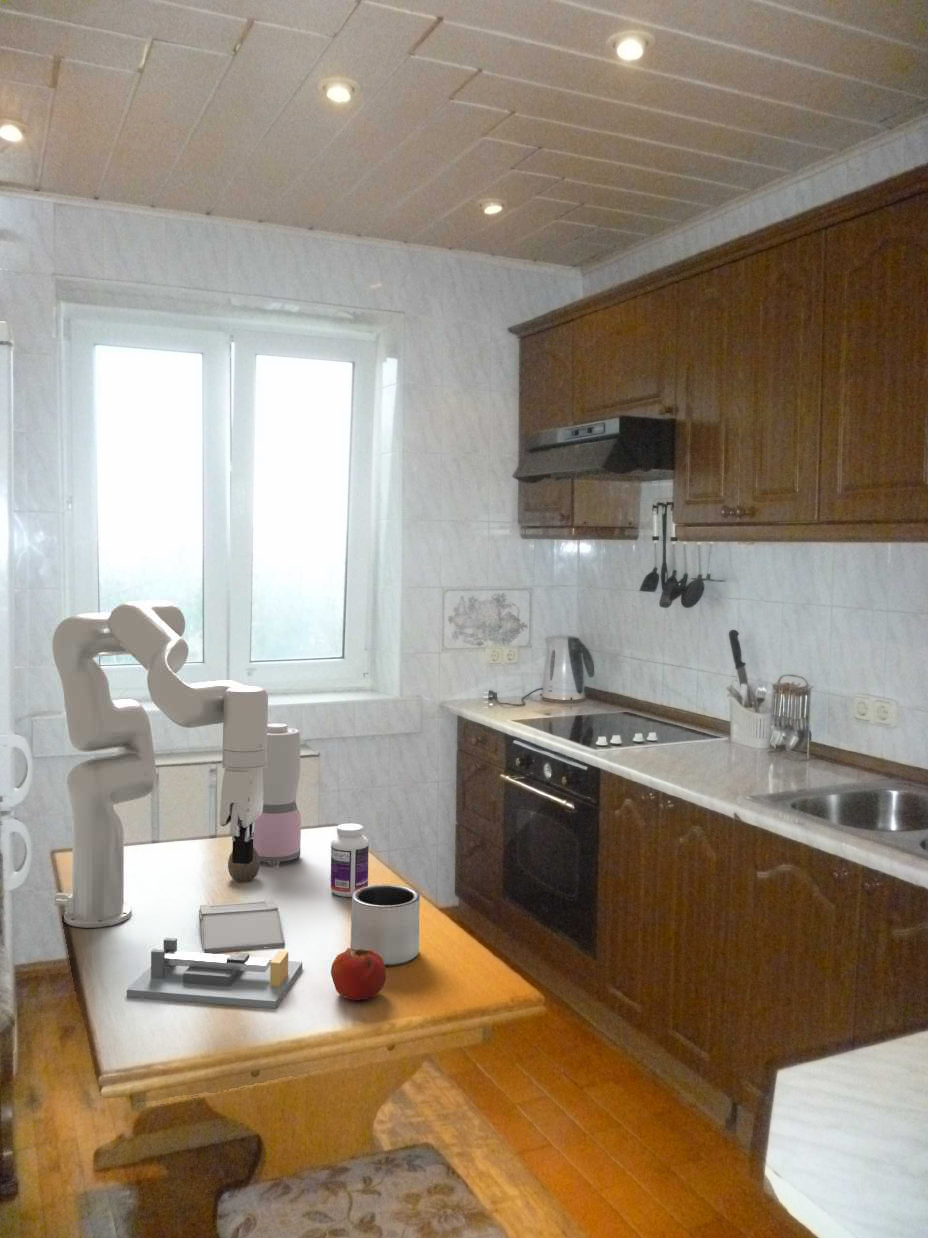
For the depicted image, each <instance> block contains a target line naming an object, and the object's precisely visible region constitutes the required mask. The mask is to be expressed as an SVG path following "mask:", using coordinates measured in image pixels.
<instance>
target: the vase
mask: <svg viewBox="0 0 928 1238" xmlns="http://www.w3.org/2000/svg"><path fill="white" fill-rule="evenodd" d="M227 861H228V862H227V870H228V874H229V876H230V877H231V879H232V880H234V882H236V883H250V882H252V881H253V880H254V879H256V878H257V876H258V874H259V871H260V866H261V861H260V859H259V855H258V853H257V851H256V850H255V849H254V847H253V861H252V862H250V863H249V864H240V863H233V862H232V851H231V852H230V854H229V857H228V860H227Z"/></svg>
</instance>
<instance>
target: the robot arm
mask: <svg viewBox="0 0 928 1238" xmlns="http://www.w3.org/2000/svg"><path fill="white" fill-rule="evenodd" d="M185 630H186V621H185V616H184V613H183V612H182V610H181V609H180V608H179V607H178V606H177V605H176V604H175V603H173V602H171V601H167V600H146V601H145V600H138V601H137V600H136V601H128V602H124V603H121V604H119V605H118V606H116V607H115V608H113V610H112V611H111V612H92V613H80V614H75V615H71V616H69V617H67V618H65V619H63V620H62V621H61V622H60V623H59V624H58V625H57V627H56V628H55V631H54V633H53V636H52V642H51V649H52V655H53V659H54V663H55V666H56V669H57V672H58V674H59V678H60V681H61V684H62V690H63V691H62V692H63V701H64V706H65V707H64V709H65V715H66V723H67V731H68V736H69V739H70V743H71V745H72V747H73V748H74V749H75V750H77V751H78V752H82V753H93V752H100V751H107V750H112V749H116V748H117V751H118V754H115V755H114V754H113V755H107V756H102V757H101V756H100V757H96V758H91V759H87V760H84V761H82V762H80V763H77V764H76V765H75V766H73V768H72V769H70V771H69V773H68V775H67V778H66V790H67V795H68V799H69V806H70V815H71V824H72V826H71V829H72V832H71V833H72V836H71V838H72V839H71V840H72V858H71V859H72V864H71V865H72V873H71V874H72V884H71V885H72V889H71V890H72V891H71V893H66V892H65V893H64V892H57V893H55V895H54V906H55V907H65V908H66V911H65V912H64V913H63V921H64V923H66V924H67V925H69V926H72V927H74V928H75V927H76V928H82V929H83V928H84V929H94V928H105V927H106V928H107V927H111V926H113V925H115V926H116V925H118V924H120V923H122V922H124V921H126V920H128V919H129V918H131V916H132V912H133V911H132V909H133V908H132V907H131V905H129V904H127V903H126V902H124V899H125V898H124V893H125V891H124V890H125V889H124V886H125V885H124V881H125V880H124V879H125V878H124V877H125V876H124V875H125V874H124V870H125V861H124V860H125V858H124V857H125V855H124V854H125V853H124V851H125V849H124V848H125V845H124V844H125V838H124V837H125V836H124V835H125V831H124V824H123V821H122V819H121V818H120V816H119V815H118V814H117V812H116V811H115V809H114V806H116V805H118V804H122V803H127V802H131V801H136V800H139V799H142V798H145V797H147V796H149V795H150V794H151V793H152V792H153V790H154V788H155V786H156V782H157V767H156V758H155V757H156V756H155V752H154V742H153V736H152V729H151V722H150V719H149V718H150V717H149V715H148V713H147V710H146V709H145V708H144V707H143V705H142V704H140V702H138V701H136V700H134V699H129V698H128V699H127V698H126V699H125V698H123V699H113V700H112V696H111V692H110V683H109V679H108V676H107V674H106V673H105V672H104V670H103V668H102V667H101V666H100V664H99V663H97V661H95V660H94V658H96V657H98V658H99V657H110V656H122V655H123V656H124V655H131V656H132V657H133V658H134V659H135V660H136V661H137V662H138V663H139V664H140V665H141V666H142V667H143V668H144V669H145V670H146V671H147V675H146V677H147V678H146V682H147V683H146V684H147V688H148V689H147V690H148V691H149V692H148V693H149V696H150V699H151V701H152V702H153V704H154V705H155V707H156V708H157V709H159V710H160V711H161V712H162V713H163V714H164V715H165V717H167V718H168V719H169V720H170V721H172V723H174V724H176V725H178V726H180V727H182V728H186V729H187V728H188V729H193V728H199V727H205V726H213V725H220V724H222V766H221V767H222V769H224V771H223V777H222V781H221V782H222V783H221V793H220V806H219V807H220V808H219V825H220V827H226V826H227V825H228V824H229V825H230V826H229V837H231V841H232V851H231V852H232V862H233V863H240V864H249V863H250V862H252V861H253V839H250V838H253V837H254V826H255V821H256V819H257V818H259V817H260V816H261V814H262V811H263V769H264V768H265V767H267V725H268V724H269V723H268V719H269V718H268V717H269V695H268V692H267V691H266V690H265V689H264V688H263V687H260V686H253V685H252V686H251V685H245V684H241V683H239V682H237V681H234V680H216V681H215V680H213V681H206V682H205V681H204V682H196V683H186V682H185V681H183V679H181V678H180V677H179V676H178V675H177V673H178V672H179V671H180V670H181V669H182V668H183V666H184V665H185V664H186V663H187V659H188V657H189V652H190V651H189V649H190V648H189V645H188V643H187V642H186V640H184V639H183V638H182V637H183V635H184V633H185Z"/></svg>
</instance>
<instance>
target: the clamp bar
mask: <svg viewBox="0 0 928 1238" xmlns="http://www.w3.org/2000/svg"><path fill="white" fill-rule="evenodd" d="M250 955H251V954H250V953H249V952H248V953H246V952H235V951H234V952H233V951H232V952H231V953H230V955H229V954H228V955H227V954H216V953H215V954H214V953H205V952H188V951H178V950H177V951H171V950H166V951H165V965H174V966H187V967H200V968H213V969H226V970H239V971H252V972H266V971H267V969H268V968H269V967H270V962H271V960H272V959H271V958H270V957H269V958H268V957H267V958H266V957H255V956H250Z"/></svg>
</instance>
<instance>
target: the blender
mask: <svg viewBox="0 0 928 1238" xmlns="http://www.w3.org/2000/svg"><path fill="white" fill-rule="evenodd" d="M300 773H301V736H300V731H299V730H298V729H296V728H294V727H293V728H292V727H289V725H287V724H286V723H268V725H267V767H265V768H264V769H263V811H262V814H261V816H260V817H259V818H257V819H256V821H255V826H254V837H253V838H250V839H253V847H254V849H255V850H256V851H257V853H258V855H259V859H260V862H264V863H265V862H266V863H268V867H269V868H277V867H279V866H280V865H279V864H280V862H286V861H287V862H288V861H292V860H295V859H300V858H301V849H302V848H301V835H302V818H301V817H302V816H301V813H300V811H299V808H298V805H297V803H296V801H297V800H296V799H297V794H298V793H297V792H298V787H299V783H300V782H299V780H300Z"/></svg>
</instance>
